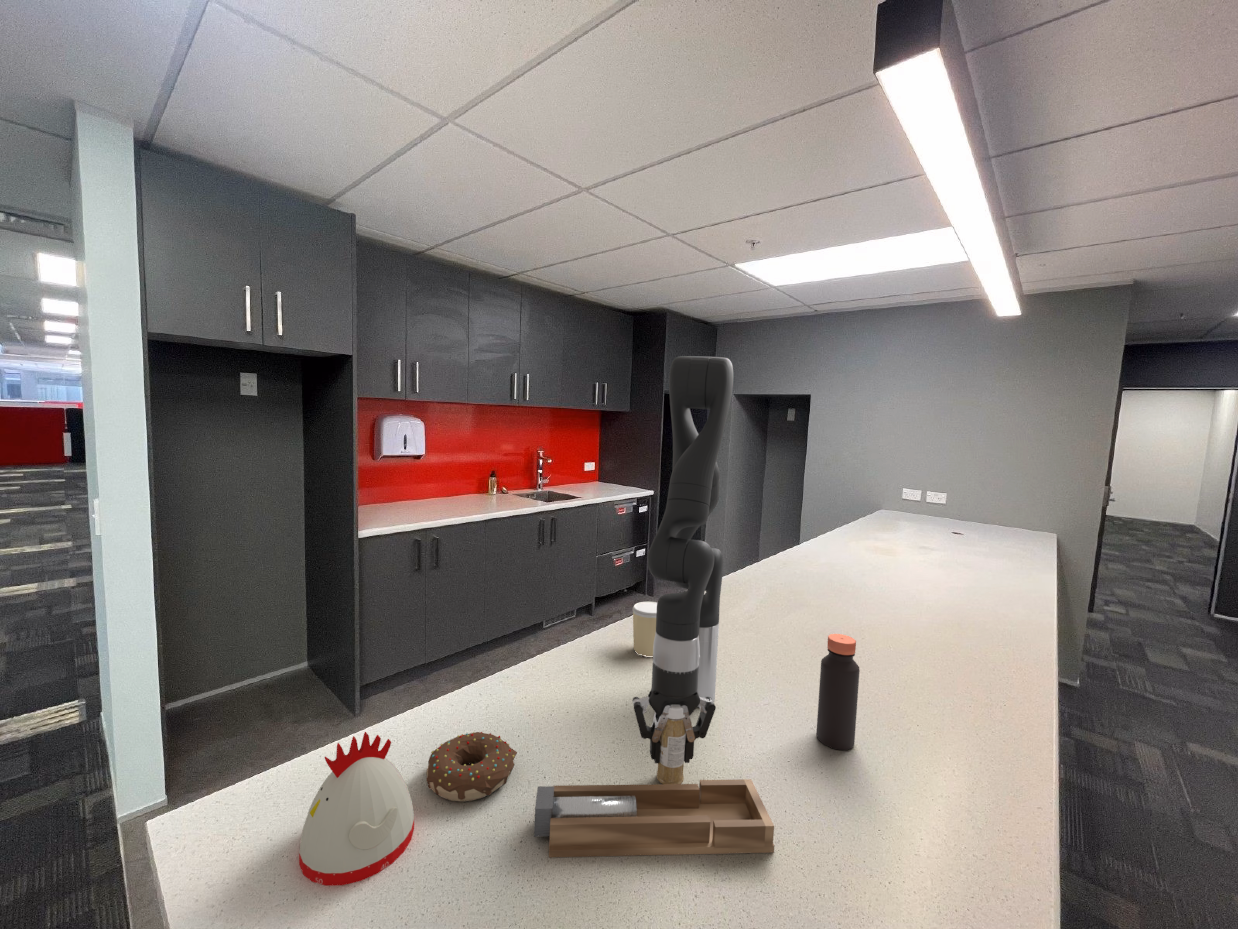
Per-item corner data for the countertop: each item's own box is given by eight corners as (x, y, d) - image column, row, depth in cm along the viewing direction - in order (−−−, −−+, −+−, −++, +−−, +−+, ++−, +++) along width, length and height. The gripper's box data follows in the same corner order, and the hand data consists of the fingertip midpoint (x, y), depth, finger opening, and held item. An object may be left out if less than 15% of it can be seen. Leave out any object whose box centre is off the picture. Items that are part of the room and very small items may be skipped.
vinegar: (808, 733, 99) (814, 633, 98) (835, 727, 101) (842, 630, 100) (834, 754, 92) (841, 648, 91) (862, 747, 95) (870, 643, 94)
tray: (552, 806, 77) (553, 781, 76) (751, 804, 79) (753, 779, 79) (548, 858, 67) (549, 830, 67) (774, 853, 70) (776, 826, 69)
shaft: (536, 812, 74) (537, 786, 74) (633, 811, 75) (634, 785, 75) (534, 836, 70) (534, 809, 69) (636, 834, 71) (637, 807, 70)
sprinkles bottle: (654, 770, 86) (657, 693, 85) (680, 769, 86) (684, 693, 85) (659, 789, 81) (662, 708, 80) (686, 788, 81) (691, 708, 81)
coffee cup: (672, 656, 131) (674, 611, 130) (639, 661, 127) (641, 614, 127) (656, 642, 139) (658, 599, 139) (625, 646, 136) (627, 602, 135)
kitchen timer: (288, 837, 69) (288, 732, 68) (391, 790, 79) (393, 697, 78) (316, 908, 59) (316, 785, 58) (430, 844, 69) (432, 738, 68)
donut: (422, 817, 74) (423, 784, 73) (429, 759, 87) (430, 731, 86) (521, 801, 78) (522, 770, 77) (513, 747, 91) (514, 720, 91)
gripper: (713, 650, 86) (707, 745, 88) (630, 649, 85) (626, 746, 86) (725, 670, 79) (719, 775, 80) (634, 670, 78) (630, 776, 79)
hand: (671, 759), depth 83 cm, fingers closed on sprinkles bottle, 4 cm apart
